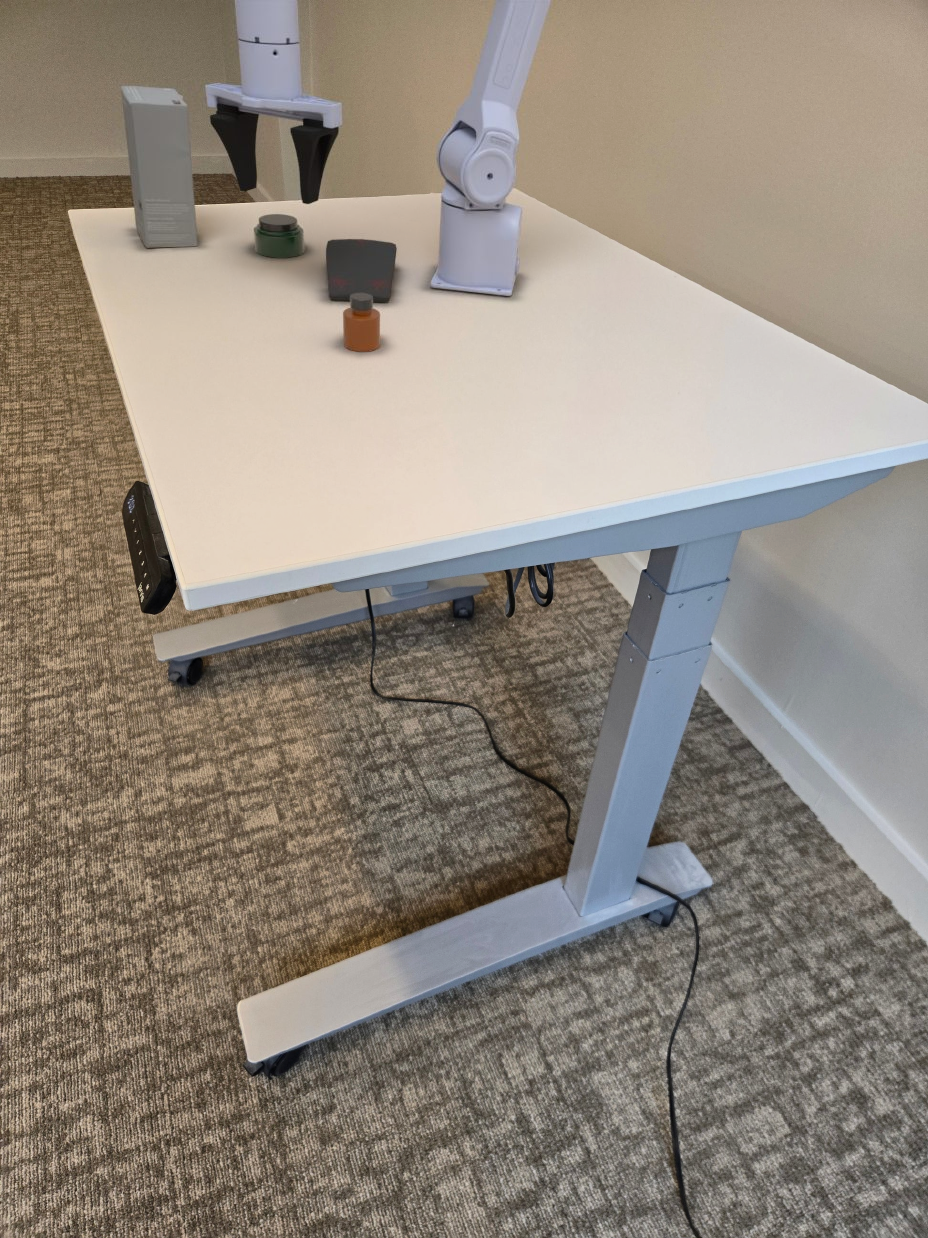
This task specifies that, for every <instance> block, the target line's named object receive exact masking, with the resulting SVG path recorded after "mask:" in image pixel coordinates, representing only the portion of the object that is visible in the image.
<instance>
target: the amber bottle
mask: <svg viewBox="0 0 928 1238" xmlns="http://www.w3.org/2000/svg"><path fill="white" fill-rule="evenodd" d="M342 330H343V335H342V336H343V346H344V347H345V348H346V349H348V350H349V351H354V352H357V353H358V352H360V353H365V352H366V353H367V352H373V351H375V350H377V349H379V348H380V347H381V313H380V311H379V310H378V309H376V308H374V302H373V296H372V295H370V294H367V293H354V294H351V295H350V301H349V307H348V308H345V309H344V310H343V312H342Z"/></svg>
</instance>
